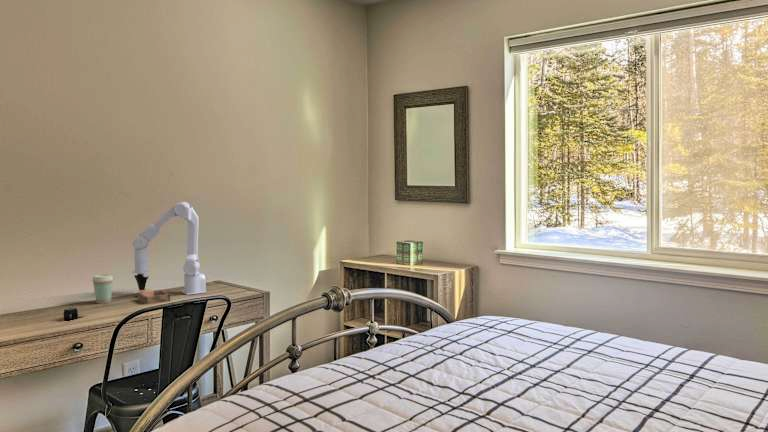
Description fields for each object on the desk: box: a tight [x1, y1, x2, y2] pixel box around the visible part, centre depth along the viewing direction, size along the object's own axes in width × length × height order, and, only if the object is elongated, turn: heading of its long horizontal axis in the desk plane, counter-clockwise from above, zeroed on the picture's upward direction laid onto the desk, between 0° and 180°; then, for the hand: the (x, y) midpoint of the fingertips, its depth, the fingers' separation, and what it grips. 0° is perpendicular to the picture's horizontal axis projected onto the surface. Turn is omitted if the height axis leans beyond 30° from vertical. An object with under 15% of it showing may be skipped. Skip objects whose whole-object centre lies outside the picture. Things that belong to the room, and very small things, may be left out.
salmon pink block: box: [138, 288, 155, 297], centre depth 279 cm, size 5×6×3 cm
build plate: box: [57, 307, 86, 322], centre depth 237 cm, size 12×7×5 cm, turn 163°
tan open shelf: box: [137, 290, 171, 305], centre depth 271 cm, size 11×11×3 cm
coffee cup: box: [91, 273, 114, 305], centre depth 266 cm, size 9×8×12 cm
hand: (141, 289), depth 284 cm, fingers closed
